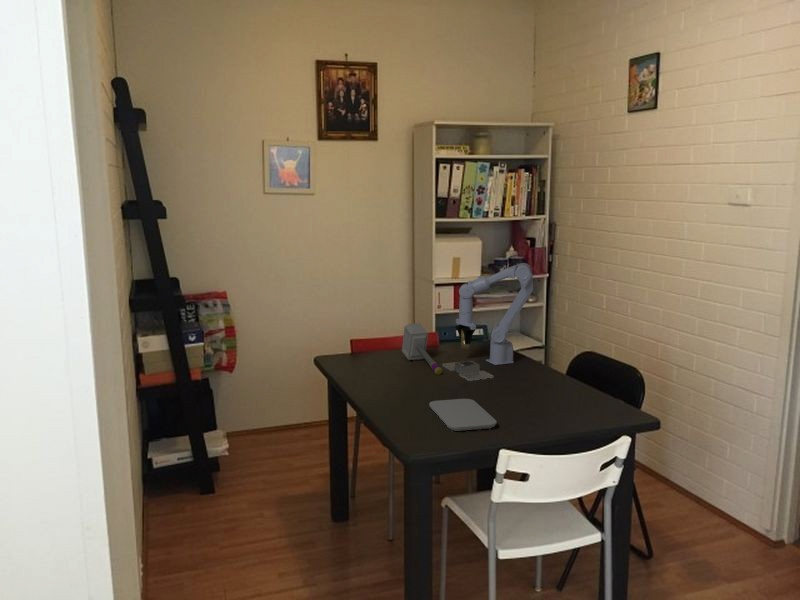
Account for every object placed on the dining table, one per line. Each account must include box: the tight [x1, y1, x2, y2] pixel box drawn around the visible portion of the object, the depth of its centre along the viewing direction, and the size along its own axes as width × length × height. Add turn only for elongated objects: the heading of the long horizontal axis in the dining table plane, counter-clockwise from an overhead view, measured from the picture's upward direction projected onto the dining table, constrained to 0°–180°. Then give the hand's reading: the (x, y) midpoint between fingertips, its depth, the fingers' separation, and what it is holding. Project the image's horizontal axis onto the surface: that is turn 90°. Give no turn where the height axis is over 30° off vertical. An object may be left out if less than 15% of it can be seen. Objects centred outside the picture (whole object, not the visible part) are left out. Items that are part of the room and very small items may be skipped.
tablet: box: [428, 398, 497, 431], centre depth 226 cm, size 16×26×2 cm, turn 14°
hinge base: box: [441, 360, 494, 382], centre depth 279 cm, size 11×23×4 cm, turn 23°
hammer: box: [401, 322, 443, 376], centre depth 287 cm, size 15×8×30 cm
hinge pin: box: [460, 329, 470, 350], centre depth 295 cm, size 4×4×8 cm
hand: (465, 342), depth 296 cm, fingers closed on hinge pin, 4 cm apart
